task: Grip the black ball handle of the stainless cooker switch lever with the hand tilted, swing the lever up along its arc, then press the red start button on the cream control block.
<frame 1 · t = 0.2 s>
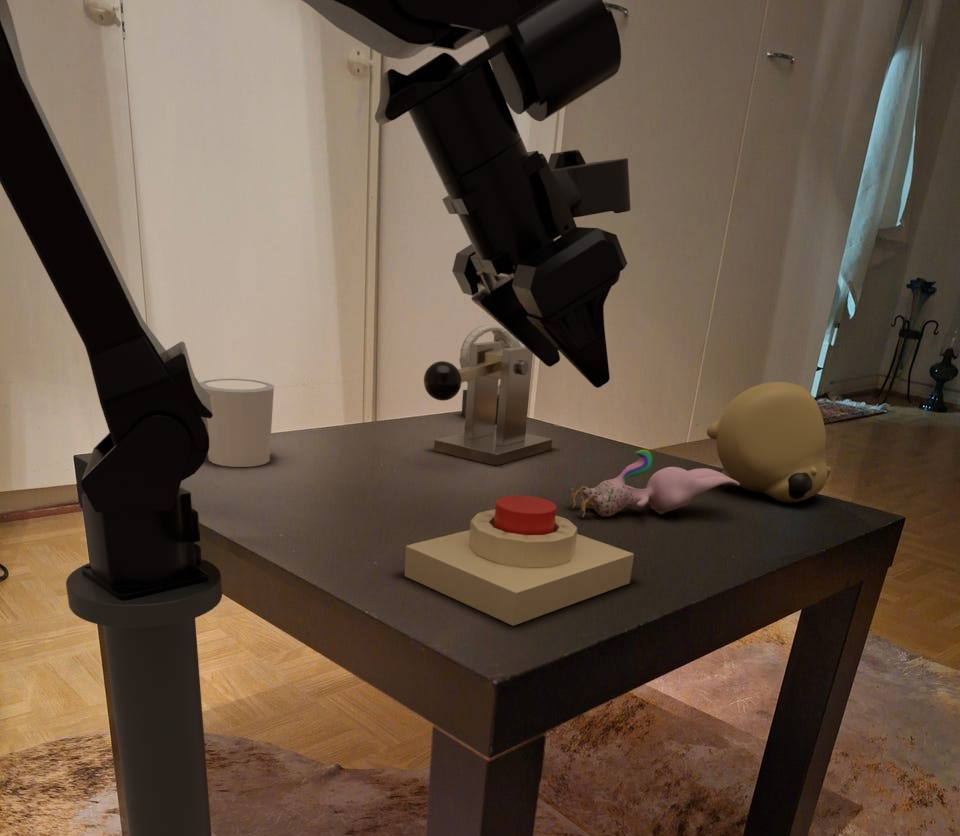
hand: (577, 373, 64), 12 cm above the table, tool tilted 35°, fingers open, 9 cm apart
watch: (487, 420, 109), on the table
white cup: (239, 461, 83), on the table
switch bracket: (493, 450, 94), on the table
lever: (471, 372, 86), point 9 cm above the table, hinge at -5.0°
pink toy creature: (652, 515, 76), on the table
tan animal figure: (761, 493, 86), on the table
control block: (518, 579, 59), on the table
start button: (525, 516, 57), point 4 cm above the table, slide at 0.1 cm
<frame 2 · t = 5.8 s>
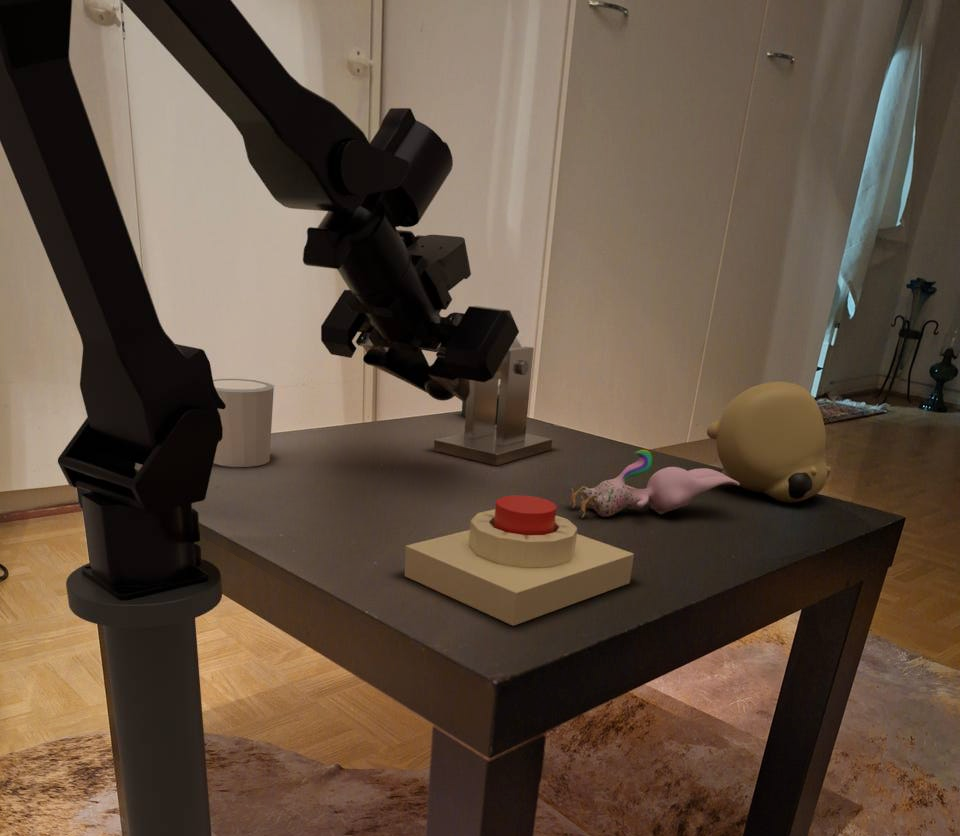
hand: (450, 394, 84), 7 cm above the table, tool tilted 45°, fingers closed on lever, 3 cm apart
lever: (471, 372, 86), point 9 cm above the table, hinge at -5.0°, touching gripper
everything else where it was.
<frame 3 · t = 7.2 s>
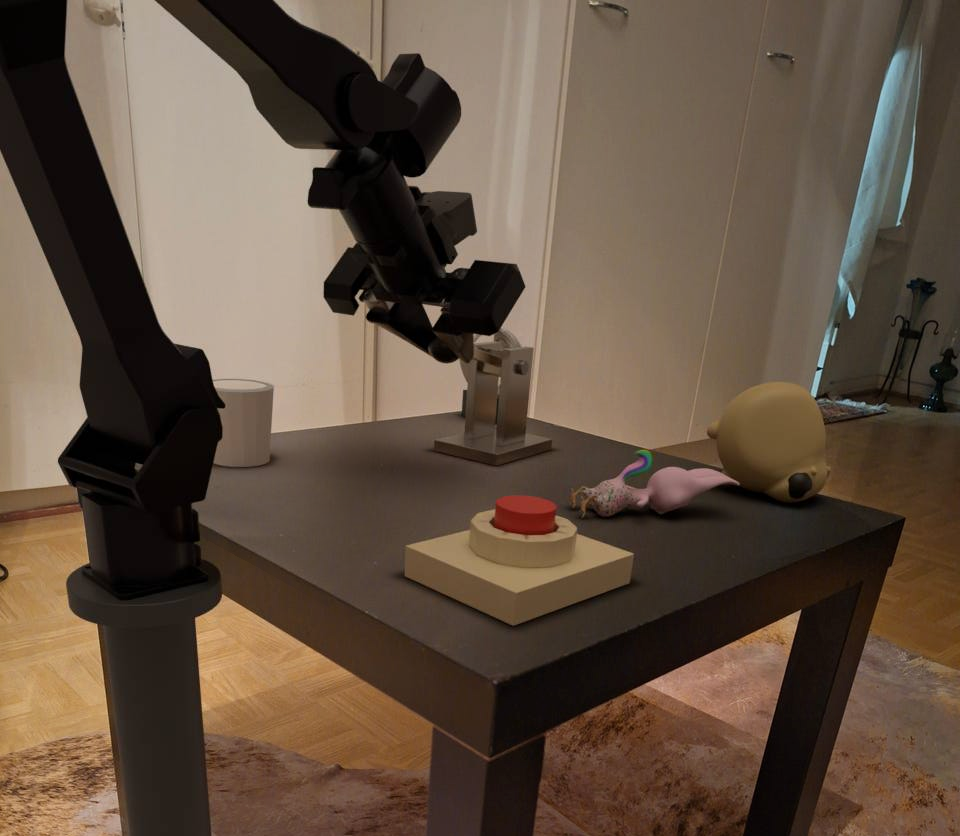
hand: (453, 356, 83), 10 cm above the table, tool tilted 45°, fingers closed on lever, 3 cm apart
lever: (473, 353, 85), point 10 cm above the table, hinge at 14.7°, touching gripper
everything else where it was.
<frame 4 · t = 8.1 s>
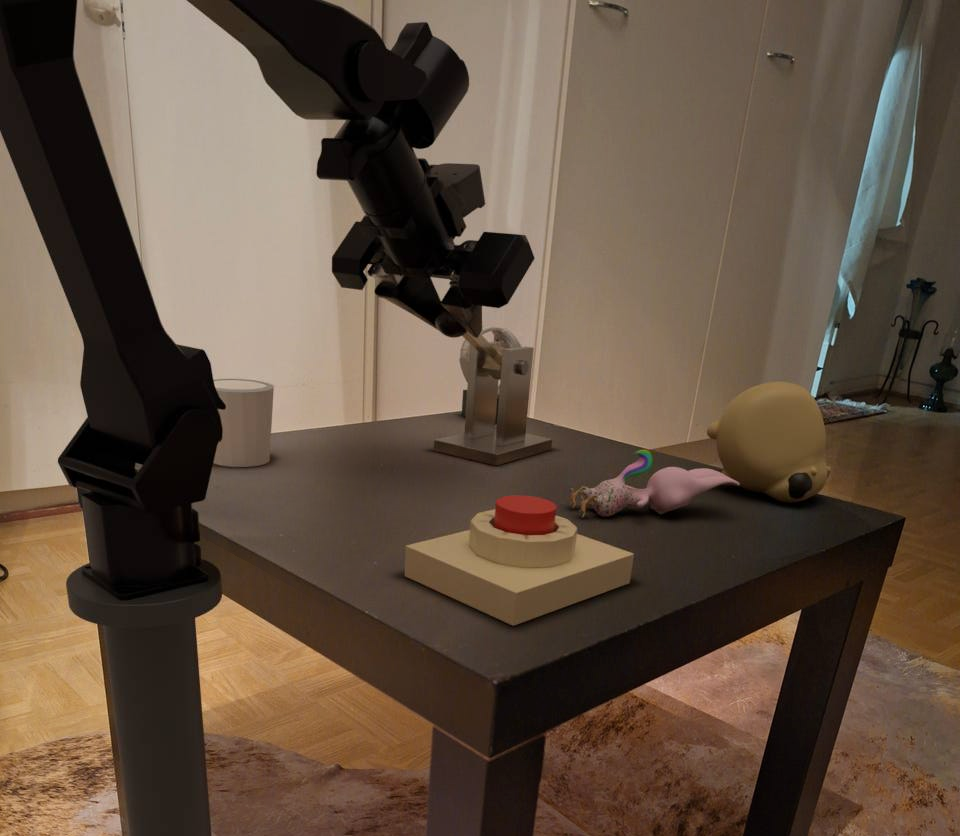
hand: (462, 331, 83), 13 cm above the table, tool tilted 45°, fingers closed on lever, 3 cm apart
lever: (477, 340, 85), point 12 cm above the table, hinge at 28.8°, touching gripper
everything else where it was.
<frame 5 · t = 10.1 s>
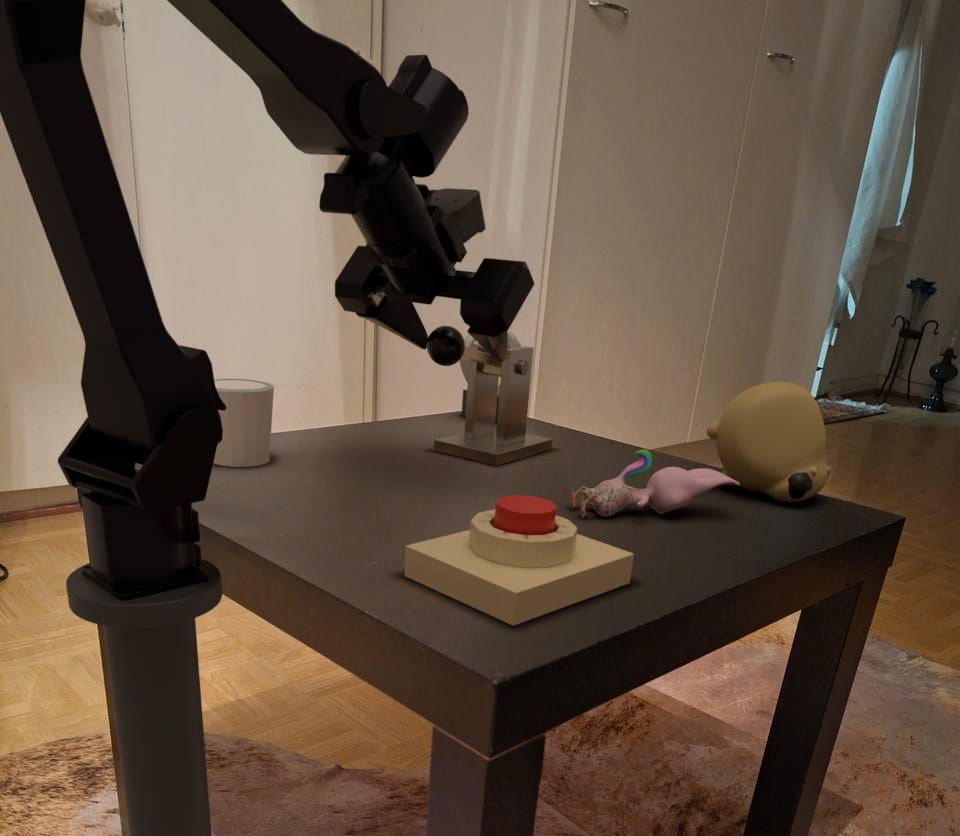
hand: (463, 351, 84), 11 cm above the table, tool tilted 45°, fingers open, 9 cm apart
lever: (473, 355, 85), point 10 cm above the table, hinge at 13.3°
everything else where it was.
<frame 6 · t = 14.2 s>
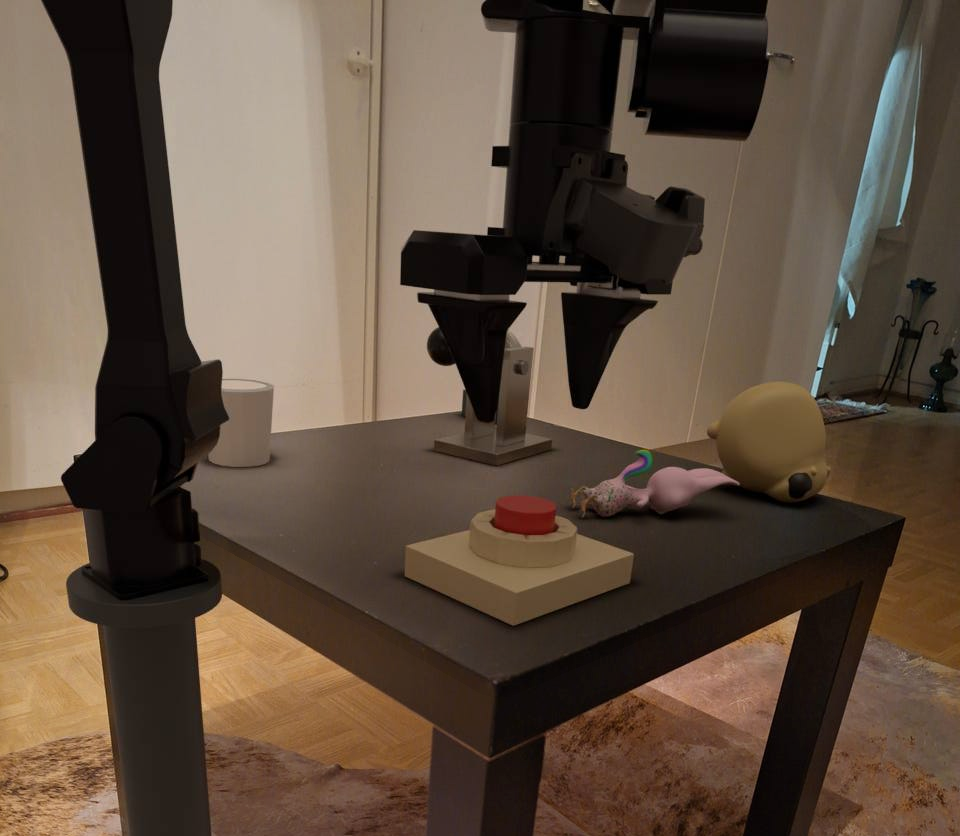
hand: (535, 414, 55), 11 cm above the table, tool pointing down, fingers open, 9 cm apart
nothing on the table moved.
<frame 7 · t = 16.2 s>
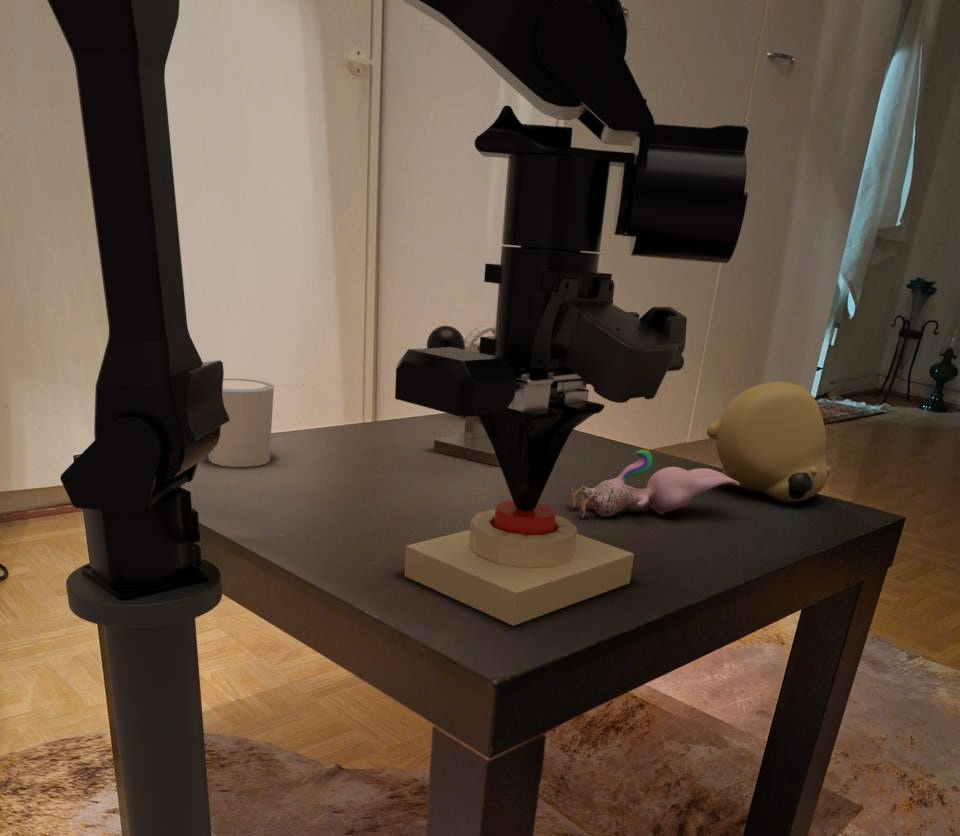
hand: (525, 509, 57), 5 cm above the table, tool pointing down, fingers closed, pressing on start button
start button: (524, 521, 57), point 4 cm above the table, slide at -0.2 cm, touching gripper
everything else where it was.
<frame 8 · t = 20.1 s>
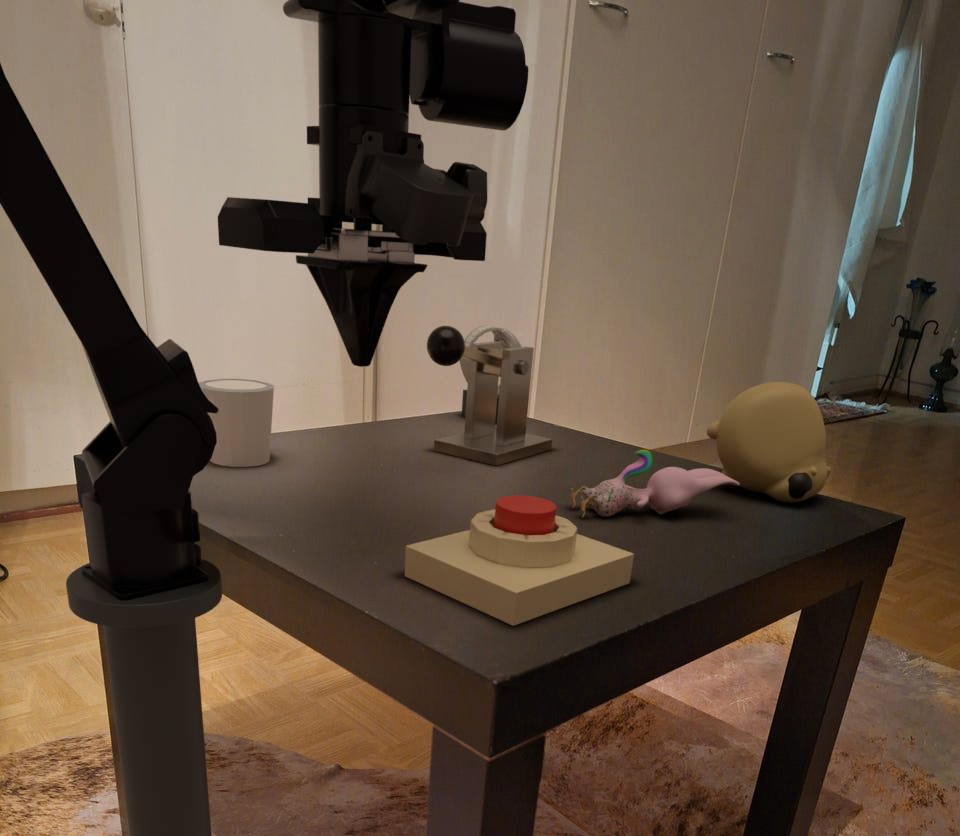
hand: (361, 365, 62), 12 cm above the table, tool pointing down, fingers closed
start button: (525, 516, 57), point 5 cm above the table, slide at 0.1 cm
everything else where it was.
at the end: lever at +13° (first picture: -5°); start button pushed in 1.1 cm at the most during the clip, back to where it started at the end; start button slide at 0.1 cm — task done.
